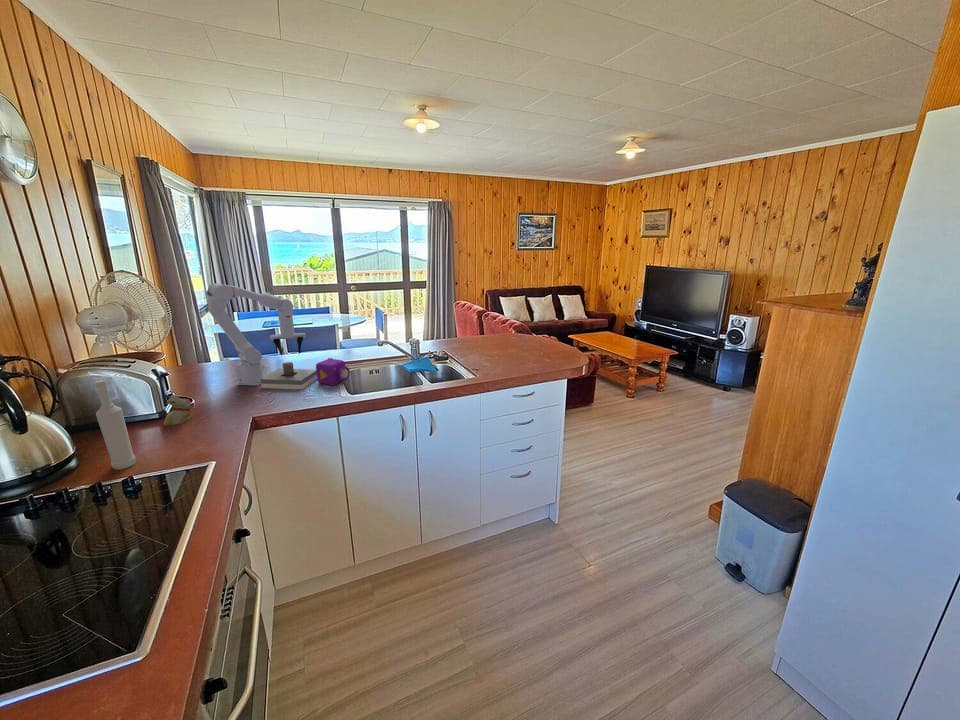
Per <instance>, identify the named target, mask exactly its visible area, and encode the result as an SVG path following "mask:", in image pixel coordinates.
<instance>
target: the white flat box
mask: <svg viewBox="0 0 960 720" xmlns="http://www.w3.org/2000/svg"><path fill="white" fill-rule="evenodd" d="M317 380H318V379H317V372H316V369H301V368H300V369H299V368H294V376H293V377H287V376H284V371H283V368H278V369H275V370H274V371H272V372H270V373H268V374H266V375H264V376H263V378H261V379H260V381H261V384H260V386H261V389H279V390H280V389H283V390H304V389H305V388H307V387H308V386H309V385H311V384H312V383H314V382H315V381H317Z"/></svg>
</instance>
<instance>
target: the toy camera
mask: <svg viewBox="0 0 960 720" xmlns="http://www.w3.org/2000/svg"><path fill="white" fill-rule="evenodd" d="M315 370H316V372H317V379H316V380H317V382H318V383H319V384H325V385H328V386H329V385H330V386H335V385H337V384H339V383H342V382H346V381H348V379H349V378H350V374H351V371H350V368H349V367H348V366H346V362H345V361H344V360H342V359H336V358H333V357H328V358H327V359H325V360H322V361H319V362H317V363H316V364H315Z"/></svg>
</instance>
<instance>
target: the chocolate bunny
mask: <svg viewBox="0 0 960 720" xmlns="http://www.w3.org/2000/svg"><path fill="white" fill-rule="evenodd" d="M169 397H170V398H169V399H167V400H166V403H167V404H168V405H170V406H171V407H172V411H170V412H169V413H167V414H166V416H165V419H164V422H163V426H164V427H171V426H175V425H180V424H183V423H186V422H188V421H190V420H191V416H190V414H191V412H192V410H191V403H190V401H189V400H188V399H182V398H180V397H178V396H177V395H174V394H171V395H170V396H169Z"/></svg>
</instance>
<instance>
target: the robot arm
mask: <svg viewBox="0 0 960 720" xmlns="http://www.w3.org/2000/svg"><path fill="white" fill-rule="evenodd" d="M205 294H206V298H207V309H208V313H209V314H210V315H211V317H213V319H214V320H215V322H216V323H217V324H218V326H219V327H220V328H221V329H222V331H223V332H224V333H225V335H226V336H227V337H228V338H229V340H230V341H231V342H232V344H233V345H234V347H235V349H236V351H237V356H238V358H239V359H241V362H239V363H238V364H237V365H236V368H235V372H236V373H235V374H236V377H237V384H236V386H237V385H238V386H259V385H260V386H261V381H260V379H261V378H263V377H264V372H263V368H262V362H261V361H262V358H263V356H262V355H263V354H262V353H261V351H259V350H258V349H256V348H255V347H254V346H253V345H252V344H251V343H250V342H249V341H248V340H247V338H246V337H245V336H244V334H243V333H242V332H241V330H240V328H239V327H238V325H236V324H235V322H234V321H233V319H232V317H230V316H229V314H228V312H227V311H226V308H227V306H228V304H229V302H230V301H231V300H232V298H233V299H235V298H239V297H242V298H245V299H249V300H253V301H256V302H258V304H259V306H262V307H266V308H269V309H272V310H276V311H277V315H278V316H277V317H278V324H279V330H280V333H279V334H278V333H277V334H272V335H270V336H269V337H270V338H269V339H270V341H273V342H272V343H273V344H274V345H275V347H277V348H276V349H277V350H278V351H279V354H280V356H283V349H282V342H281V341H282V340H286V339H287V340H289V339H296V342H297V348H298V349H297V350H298V351H297V352H298V354H301V353H302V351H301V350H302V349H301V348H302V343H303V342H304V341H303V340H304V339H305V338H306V332H295V327H294V325H295V324H294V318H293V317H294V316H293V309H294V304H293V302H292V301H291V300H290V299H289V298H288V299H287V298H283V297H282V296H280V295H275V294H272V293H271V292H269V291H267V292H262V293H257V292H255V291H251V290H249V289H245V288H244V287H243V288H242V287H239V286H235V285H229V284H221V283H218V282H217V283H216V282H214V283H211V284H210V285H209V286H208V288H207V290H206V293H205Z"/></svg>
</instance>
